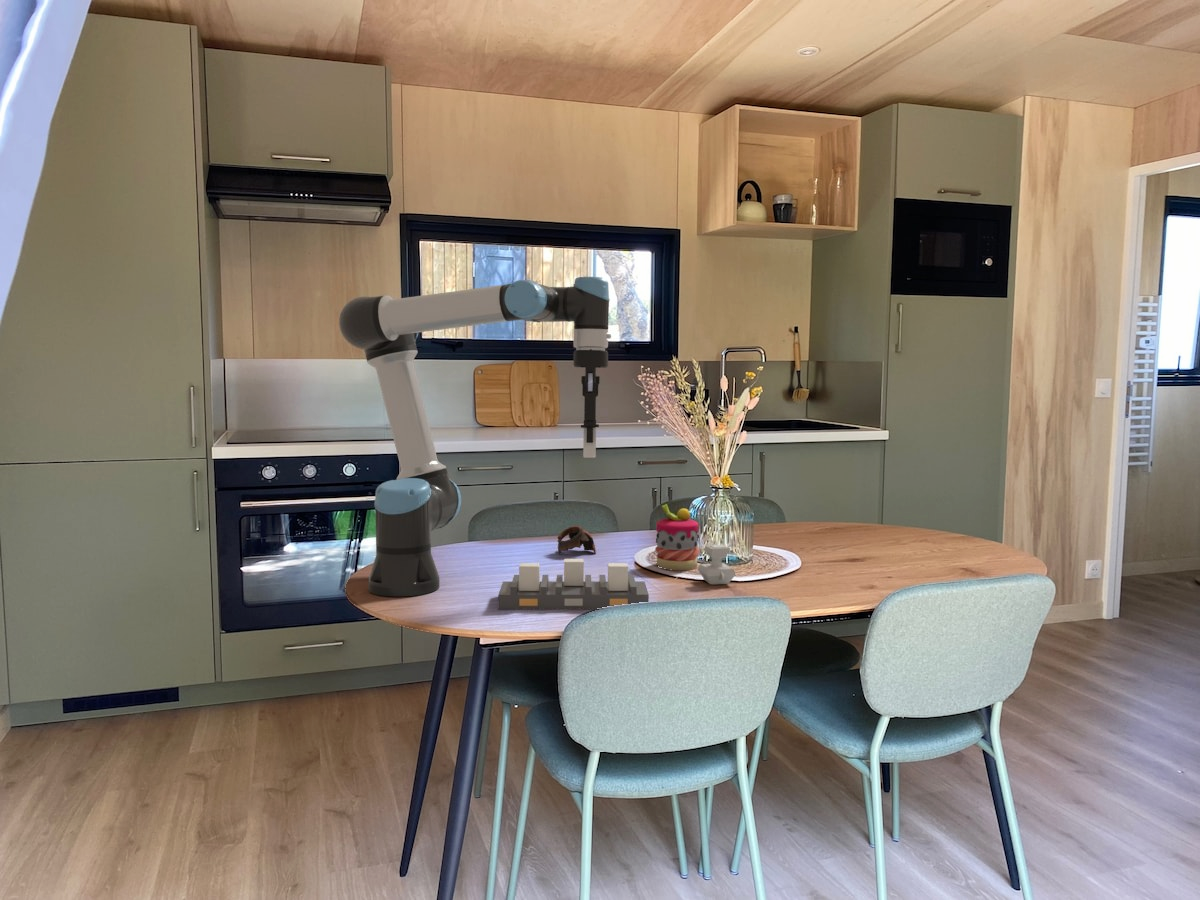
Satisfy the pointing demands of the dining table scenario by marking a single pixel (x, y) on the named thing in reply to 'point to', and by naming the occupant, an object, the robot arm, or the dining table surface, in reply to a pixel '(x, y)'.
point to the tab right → (617, 576)
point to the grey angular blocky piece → (716, 566)
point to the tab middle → (573, 572)
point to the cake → (677, 541)
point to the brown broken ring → (575, 539)
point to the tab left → (529, 576)
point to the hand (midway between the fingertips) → (589, 457)
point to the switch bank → (570, 594)
